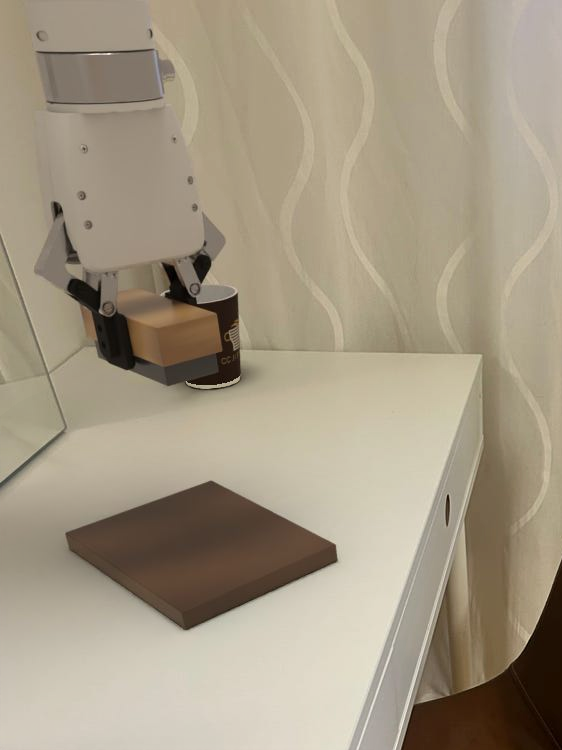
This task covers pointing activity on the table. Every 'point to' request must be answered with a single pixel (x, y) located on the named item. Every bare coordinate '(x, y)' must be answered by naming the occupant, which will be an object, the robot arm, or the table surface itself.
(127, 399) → the table surface
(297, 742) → the table surface
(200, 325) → the brush
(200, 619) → the board
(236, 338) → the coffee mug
